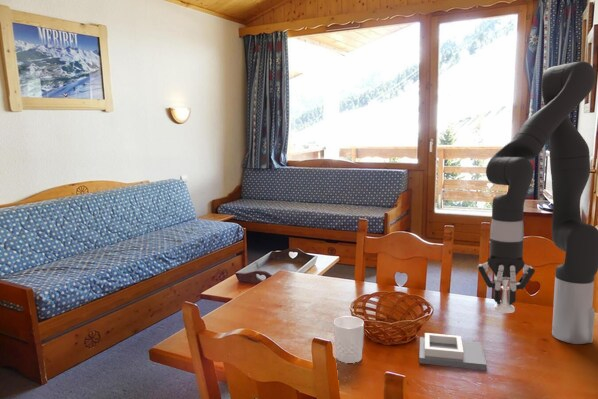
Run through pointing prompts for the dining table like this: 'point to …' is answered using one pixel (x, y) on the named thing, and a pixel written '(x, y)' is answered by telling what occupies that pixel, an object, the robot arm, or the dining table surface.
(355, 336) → the white cup
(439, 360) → the socket board
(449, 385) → the dining table surface
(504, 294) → the chess piece
